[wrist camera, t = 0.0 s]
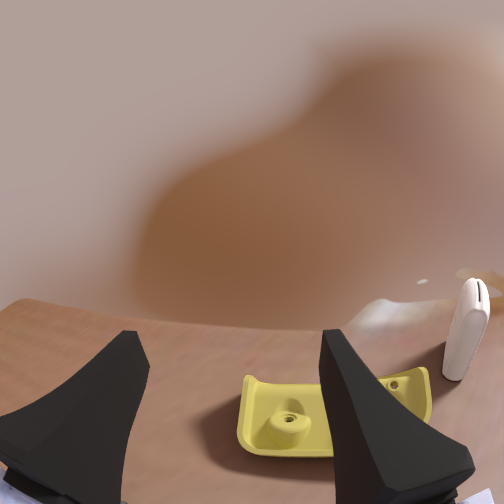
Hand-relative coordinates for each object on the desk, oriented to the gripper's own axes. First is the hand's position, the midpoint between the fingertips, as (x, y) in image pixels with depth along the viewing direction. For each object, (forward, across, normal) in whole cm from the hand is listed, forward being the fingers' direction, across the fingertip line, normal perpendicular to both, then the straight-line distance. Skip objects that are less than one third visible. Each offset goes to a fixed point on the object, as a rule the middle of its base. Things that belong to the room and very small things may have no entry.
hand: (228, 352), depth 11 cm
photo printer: (+17, -29, +24) cm, 41 cm away
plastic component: (+9, -8, +23) cm, 26 cm away
